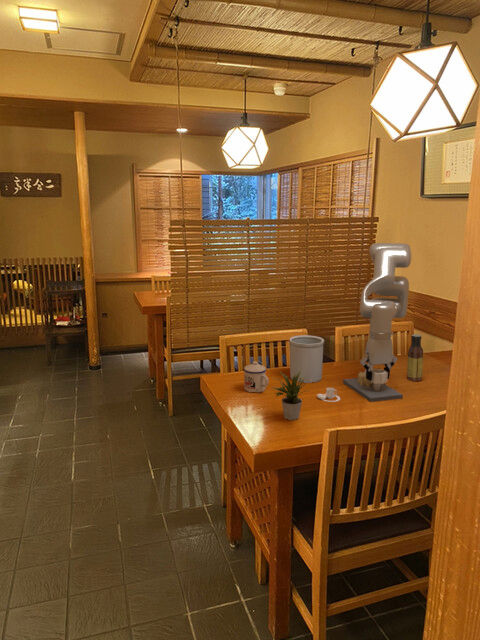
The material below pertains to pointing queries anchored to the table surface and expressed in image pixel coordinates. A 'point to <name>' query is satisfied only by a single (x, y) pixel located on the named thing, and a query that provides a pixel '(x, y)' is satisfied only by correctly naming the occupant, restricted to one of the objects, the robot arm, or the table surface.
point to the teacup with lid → (255, 377)
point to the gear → (379, 376)
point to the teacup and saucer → (328, 395)
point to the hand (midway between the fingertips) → (377, 378)
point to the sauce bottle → (415, 359)
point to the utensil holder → (306, 357)
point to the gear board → (371, 389)
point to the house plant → (291, 397)
